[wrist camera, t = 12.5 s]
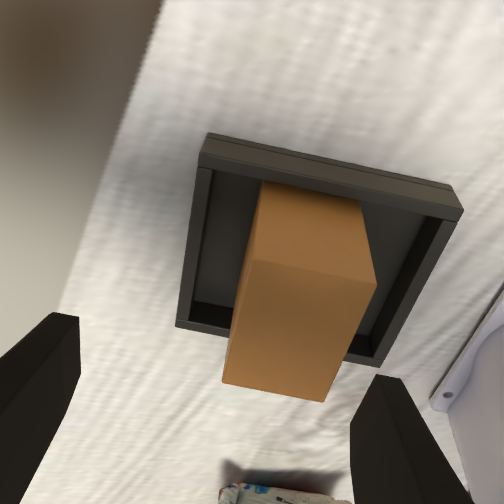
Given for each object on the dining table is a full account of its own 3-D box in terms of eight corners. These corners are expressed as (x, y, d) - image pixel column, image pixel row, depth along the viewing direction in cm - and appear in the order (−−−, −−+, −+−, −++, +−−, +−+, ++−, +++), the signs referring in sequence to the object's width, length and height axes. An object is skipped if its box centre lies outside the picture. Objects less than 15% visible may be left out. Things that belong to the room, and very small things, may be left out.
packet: (358, 193, 20) (378, 285, 15) (318, 300, 23) (323, 403, 18) (263, 172, 19) (251, 258, 15) (238, 283, 23) (220, 383, 18)
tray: (375, 339, 25) (380, 368, 23) (182, 300, 24) (174, 327, 23) (451, 185, 20) (465, 210, 18) (207, 131, 19) (199, 151, 18)
